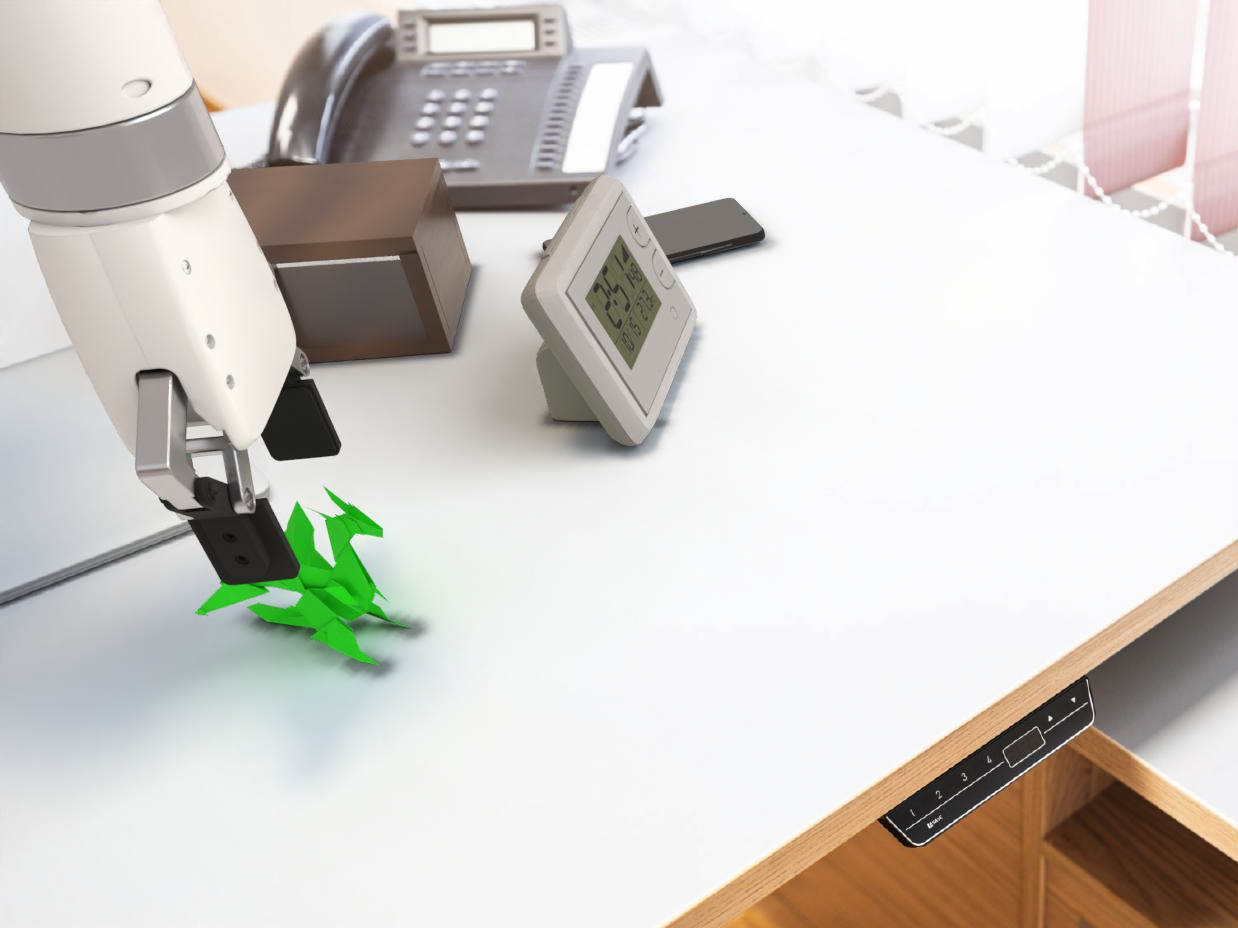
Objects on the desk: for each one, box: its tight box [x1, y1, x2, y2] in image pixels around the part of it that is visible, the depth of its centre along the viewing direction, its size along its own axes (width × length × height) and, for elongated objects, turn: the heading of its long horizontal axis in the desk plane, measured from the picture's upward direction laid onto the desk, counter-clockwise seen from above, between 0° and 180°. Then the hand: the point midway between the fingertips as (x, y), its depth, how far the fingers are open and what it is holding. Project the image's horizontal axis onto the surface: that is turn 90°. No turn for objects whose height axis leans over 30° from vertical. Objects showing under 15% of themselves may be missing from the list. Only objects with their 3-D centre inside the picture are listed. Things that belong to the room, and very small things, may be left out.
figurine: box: [193, 485, 412, 666], centre depth 65 cm, size 6×12×9 cm, turn 75°
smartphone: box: [542, 197, 766, 264], centre depth 98 cm, size 7×1×15 cm
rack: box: [226, 157, 473, 364], centre depth 88 cm, size 14×12×8 cm
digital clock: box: [520, 174, 698, 447], centre depth 81 cm, size 16×9×11 cm, turn 168°
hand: (287, 513), depth 62 cm, fingers open, 9 cm apart
